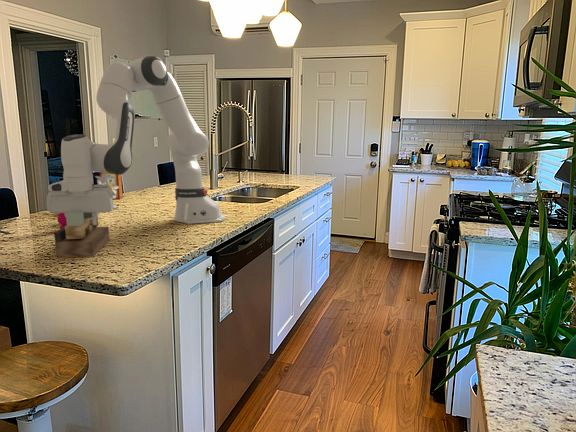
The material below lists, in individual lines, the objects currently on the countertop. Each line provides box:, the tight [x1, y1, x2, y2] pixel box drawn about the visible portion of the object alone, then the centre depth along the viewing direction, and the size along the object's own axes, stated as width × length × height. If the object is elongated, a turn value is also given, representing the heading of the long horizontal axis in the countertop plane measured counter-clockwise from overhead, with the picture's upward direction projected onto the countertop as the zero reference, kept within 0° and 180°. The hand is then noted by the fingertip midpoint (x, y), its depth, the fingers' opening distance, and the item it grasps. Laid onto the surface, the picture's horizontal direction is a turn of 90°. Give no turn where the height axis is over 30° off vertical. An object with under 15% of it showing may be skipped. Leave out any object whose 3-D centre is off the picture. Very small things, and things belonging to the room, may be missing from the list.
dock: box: [53, 225, 110, 258], centre depth 148 cm, size 11×20×8 cm, turn 8°
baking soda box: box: [99, 172, 124, 201], centre depth 242 cm, size 10×6×16 cm
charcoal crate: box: [84, 213, 93, 217], centre depth 152 cm, size 4×4×4 cm
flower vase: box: [94, 174, 119, 209], centre depth 209 cm, size 13×18×25 cm
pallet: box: [65, 215, 99, 239], centre depth 147 cm, size 5×18×4 cm, turn 8°
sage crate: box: [66, 211, 84, 226], centre depth 140 cm, size 4×4×4 cm
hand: (82, 225), depth 147 cm, fingers open, 5 cm apart
